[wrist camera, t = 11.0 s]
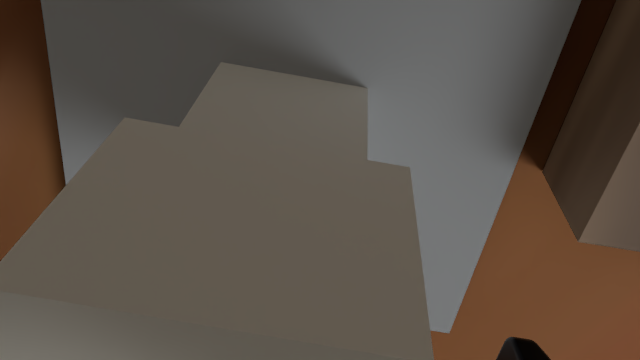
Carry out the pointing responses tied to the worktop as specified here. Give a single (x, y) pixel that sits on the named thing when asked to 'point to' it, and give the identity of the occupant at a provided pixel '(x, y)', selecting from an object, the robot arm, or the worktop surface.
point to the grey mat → (341, 67)
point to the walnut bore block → (603, 140)
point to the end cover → (226, 238)
